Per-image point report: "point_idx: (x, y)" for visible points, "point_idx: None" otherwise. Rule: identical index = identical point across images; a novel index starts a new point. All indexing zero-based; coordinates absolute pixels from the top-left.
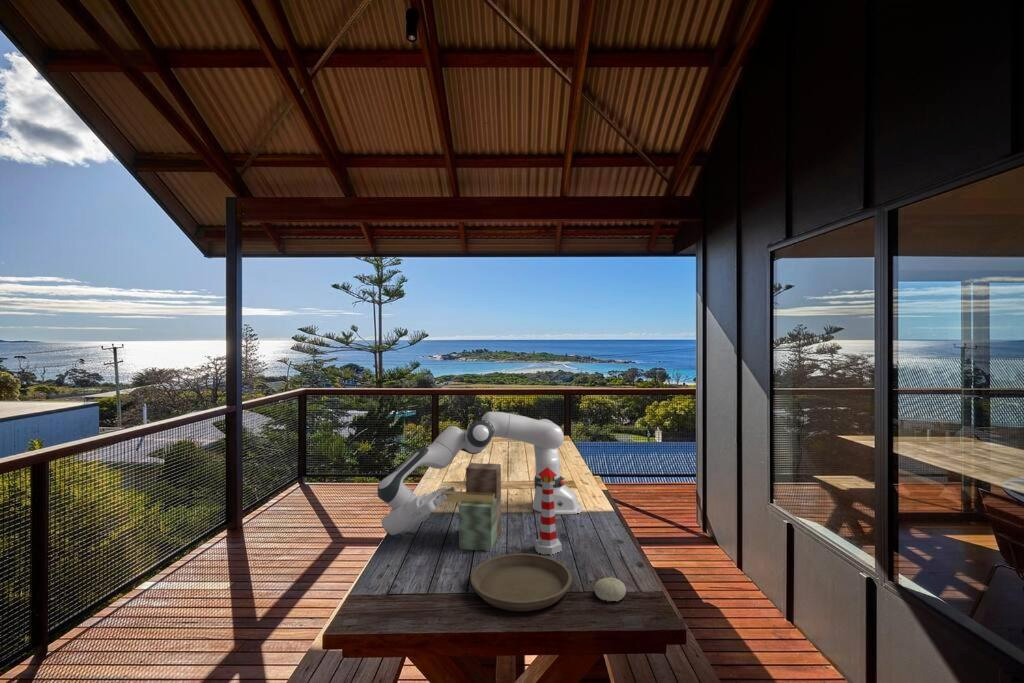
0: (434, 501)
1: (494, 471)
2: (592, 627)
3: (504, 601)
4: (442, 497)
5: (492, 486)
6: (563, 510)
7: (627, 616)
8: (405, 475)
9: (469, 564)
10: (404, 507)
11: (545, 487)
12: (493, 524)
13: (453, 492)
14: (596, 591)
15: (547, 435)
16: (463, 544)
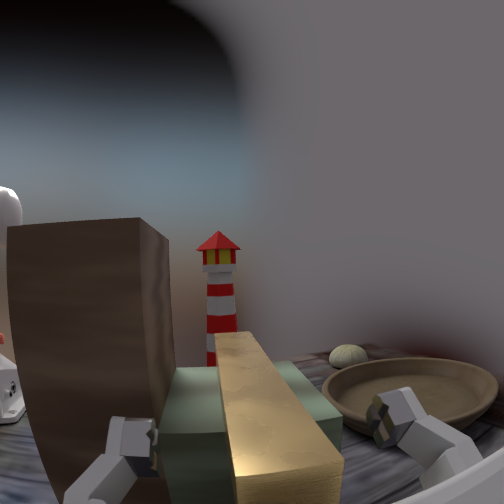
0: (474, 456)
1: (167, 248)
2: (417, 357)
3: (479, 367)
4: (416, 411)
5: (170, 320)
6: (20, 398)
7: (376, 354)
8: None
9: (406, 491)
10: None
11: (231, 278)
12: None
13: (263, 406)
14: (364, 359)
15: (13, 205)
16: None
